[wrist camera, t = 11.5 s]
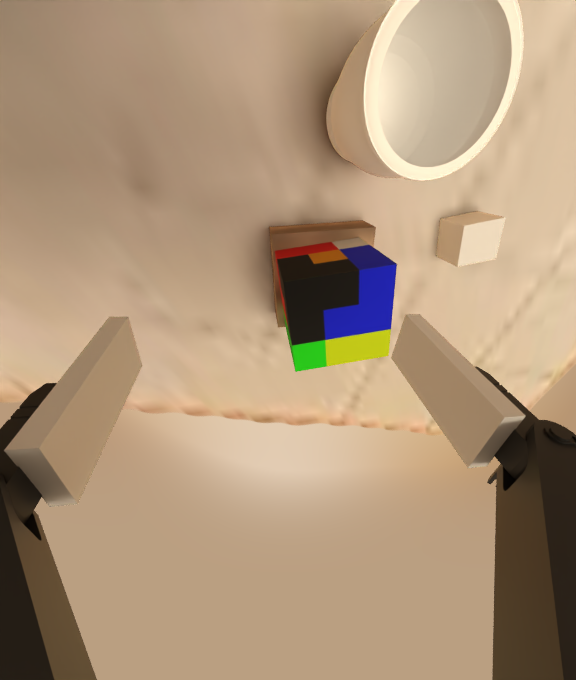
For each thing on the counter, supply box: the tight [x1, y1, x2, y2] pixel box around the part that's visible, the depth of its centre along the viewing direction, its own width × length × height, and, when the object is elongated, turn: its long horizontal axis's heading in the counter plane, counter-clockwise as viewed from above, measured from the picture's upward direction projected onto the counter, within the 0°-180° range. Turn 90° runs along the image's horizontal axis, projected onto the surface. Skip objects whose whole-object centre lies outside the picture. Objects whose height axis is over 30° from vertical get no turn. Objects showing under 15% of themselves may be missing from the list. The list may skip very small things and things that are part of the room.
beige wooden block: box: [436, 211, 506, 267], centre depth 37 cm, size 5×5×5 cm
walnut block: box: [269, 221, 376, 327], centre depth 37 cm, size 12×12×5 cm
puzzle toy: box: [275, 238, 397, 371], centre depth 31 cm, size 10×10×10 cm
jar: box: [326, 0, 524, 181], centre depth 24 cm, size 11×10×15 cm
